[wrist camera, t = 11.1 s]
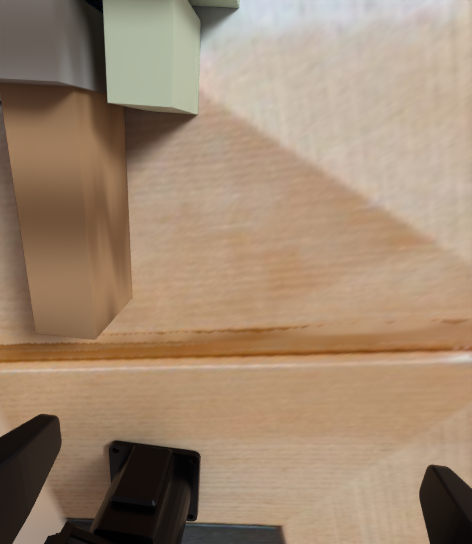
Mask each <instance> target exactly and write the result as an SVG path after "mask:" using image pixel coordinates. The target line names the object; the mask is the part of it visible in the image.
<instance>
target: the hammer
mask: <svg viewBox="0 0 472 544" xmlns="http://www.w3.org/2000/svg"><path fill="white" fill-rule="evenodd" d="M0 97H1V103H2V110H3V117H4V124H5V130H6V137H7V144H8V150H9V157H10V164H11V171H12V177H13V184H14V191H15V197H16V204H17V211H18V217H19V224H20V231H21V238H22V244H23V251H24V258H25V264H26V271H27V278H28V284H29V291H30V298H31V305H32V311H33V318H34V325H35V331H36V334H45V335H54V336H64V337H74V338H83V339H93V340H95V339H96V338H97V337H98V336H99V335H100V334H101V333H102V332H103V330H104V329H105V328H106V327H107V326H108V325H109V324H110V322H111V321H112V320H113V319H114V318H115V317H116V316H117V314H118V313H119V312H120V311H121V310H122V309H123V308H124V307H125V305H126V304H127V303H128V302H129V301H130V300H131V299H132V277H131V255H130V232H129V209H128V186H127V163H126V141H125V118H124V106H122V105H117V104H112V103H108V99H107V78H106V57H105V36H104V14H102V13H101V12H100V11H98V10H97V9H95V8H94V7H93V6H91V5H90V4H89V3H87V2H86V1H84V0H0Z"/></svg>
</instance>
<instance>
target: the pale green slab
mask: <svg viewBox="0 0 472 544" xmlns="http://www.w3.org/2000/svg"><path fill="white" fill-rule="evenodd" d="M96 1H103V14H104V36H105V57H106V78H107V99H108V103H112V104H117V105H122V106H126V107H131V108H136V109H141V110H146V111H155V112H169V113H183V114H197V115H198V94H199V62H200V30H201V21H200V19H199V18H198V16H197V15H196V13H195V11H194V10H193V8H192V7H191V5H193V6H212V7H232V8H239V3H240V0H96ZM0 100H1V97H0Z"/></svg>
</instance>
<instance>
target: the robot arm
mask: <svg viewBox="0 0 472 544" xmlns="http://www.w3.org/2000/svg"><path fill="white" fill-rule="evenodd" d="M61 442H62V440H61V432H60V423H59V418H58V417H57V416H55V415H48V414H40V415H38V416H36V417H34V418H33V419H31V420H29V421H27V422H26V423H24V424H22V425H20V426H19V427H17V428H15V429H13V430H12V431H10V432H8V433H7V434H5V435H3V436H2V437H0V544H12V543H13V541H14V540H15V538H16V536H17V535H18V533H19V531H20V529H21V528H22V526H23V524H24V523H25V521H26V519H27V517H28V515H29V514H30V512H31V510H32V508H33V506H34V504H35V502H36V499H37V497H38V495H39V493H40V491H41V489H42V487H43V485H44V483H45V481H46V478H47V476H48V474H49V472H50V470H51V468H52V466H53V464H54V461H55V459H56V457H57V455H58V453H59V451H60V448H61ZM192 458H194V459H192ZM109 459H110V475H111V485H110V487H109V489H108V492H107V494H106V496H105V498H104V500H103V502H102V504H101V506H100V509H99V511H98V513H97V515H96V517H95V519H94V521H93V524H92V526H91V528H90V530H89V531H87V530H84V529H82V528H79V527H77V526H75V525H76V524H74V523H72V522H69V521H67V522H66V523H65V525H64V527H63V529H62V530H61V532H60V533H56V534H55V535H51V536H48V537H47V540H46V541H45V543H44V544H181V541H182V537H183V532H184V528H185V523H186V521H195V520H196V519H197V515H198V504H199V483H200V462H201V456H200V454H199V453H198V452H196V451H190V450H183V449H175V448H168V447H160V446H153V445H145V444H138V443H130V442H123V441H114V442H112V444H111V445H110V447H109ZM419 498H420V503H421V507H422V512H423V516H424V520H425V524H426V529H427V533H428V537H429V541H430V544H472V488H471V487H470V486H468V485H467V484H466V483H465V482H464V481H463V480H462V479H461V478H460V477H459V476H458V475H457V474H455V473H454V472H453V471H452V470H451V469H450V468H448V467H446V466H439V465H429V466H428V467H427V469H426V472H425V475H424V478H423V481H422V484H421V487H420V491H419Z"/></svg>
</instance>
